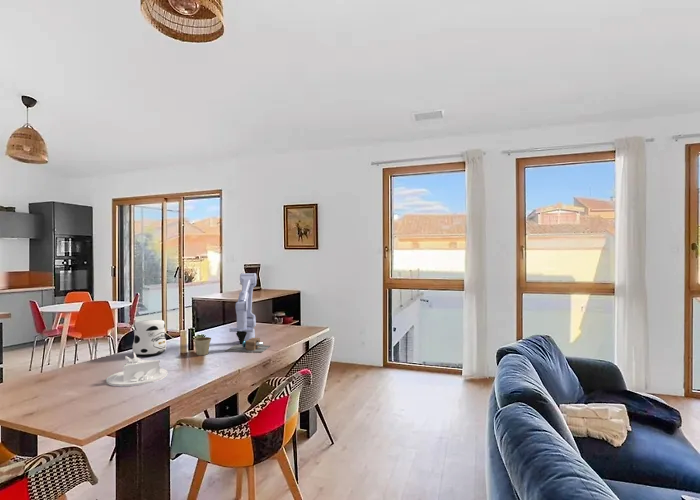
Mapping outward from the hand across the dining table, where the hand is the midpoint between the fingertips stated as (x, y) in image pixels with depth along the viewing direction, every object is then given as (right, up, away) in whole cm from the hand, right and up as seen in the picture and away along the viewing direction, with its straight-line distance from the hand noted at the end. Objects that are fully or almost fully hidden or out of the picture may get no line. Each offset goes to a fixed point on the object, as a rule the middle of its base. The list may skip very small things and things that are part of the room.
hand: (241, 344), depth 243 cm
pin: (+7, -2, -1) cm, 7 cm away
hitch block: (+4, -3, -1) cm, 5 cm away
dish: (-33, -3, -55) cm, 65 cm away
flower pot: (-19, -3, -13) cm, 23 cm away
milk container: (-49, -3, -12) cm, 50 cm away
